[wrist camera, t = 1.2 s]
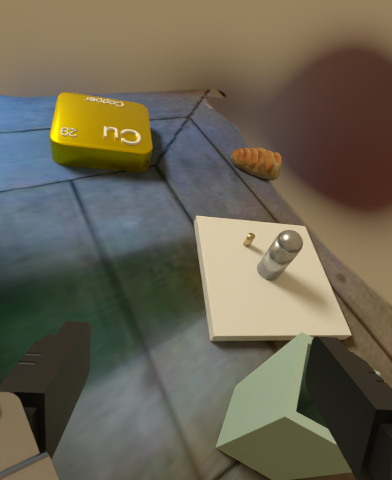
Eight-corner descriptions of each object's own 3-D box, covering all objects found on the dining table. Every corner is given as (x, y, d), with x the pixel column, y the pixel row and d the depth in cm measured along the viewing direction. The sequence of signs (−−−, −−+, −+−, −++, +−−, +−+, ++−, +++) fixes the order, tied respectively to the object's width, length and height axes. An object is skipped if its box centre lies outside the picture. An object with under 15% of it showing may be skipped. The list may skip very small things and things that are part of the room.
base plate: (344, 339, 40) (395, 306, 33) (210, 341, 35) (238, 302, 29) (300, 232, 51) (331, 191, 44) (193, 222, 46) (211, 174, 40)
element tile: (144, 124, 60) (147, 101, 57) (150, 175, 51) (154, 151, 48) (60, 113, 56) (58, 86, 53) (50, 166, 47) (47, 139, 43)
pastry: (229, 172, 57) (236, 154, 54) (229, 151, 62) (235, 134, 59) (277, 184, 59) (286, 167, 56) (273, 162, 63) (281, 146, 60)
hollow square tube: (274, 481, 28) (380, 469, 18) (215, 447, 29) (285, 416, 18) (290, 399, 33) (380, 352, 23) (239, 372, 34) (305, 314, 24)
